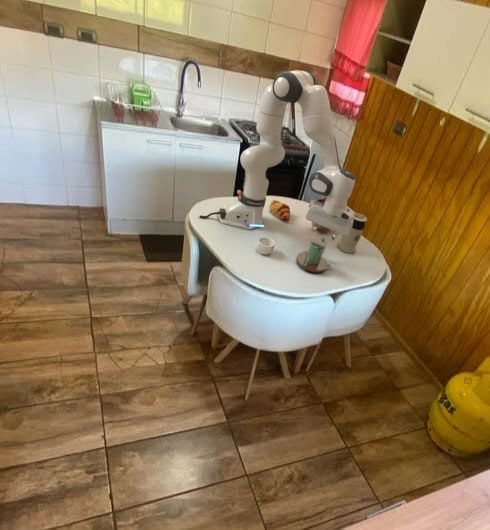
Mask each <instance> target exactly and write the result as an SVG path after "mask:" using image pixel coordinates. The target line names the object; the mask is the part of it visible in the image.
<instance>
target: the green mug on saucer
mask: <svg viewBox="0 0 490 530" xmlns="http://www.w3.org/2000/svg"><path fill="white" fill-rule="evenodd" d="M325 241H326V239H325V237H321V238H320V239H312V240H311V241H310V244H309V247H308V250H306V251H300V252H298V253H297V254H296V258H295V261H296V263H297V264H298V265H299V266H300V267H301V268H302V269H303V268H304V269H303V270H305V269H306V270H305V271H307V270H308V271H307V272H309V271H311V272H310V273H314V272H316V273H323V272H325V271H326V270H327V268H328V266H329V263H328V261H327V259H326V258H325V257H324V256H323V255H324V252H325V250H326V246H327V244H326V243H325Z"/></svg>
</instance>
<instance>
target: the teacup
mask: <svg viewBox="0 0 490 530" xmlns="http://www.w3.org/2000/svg"><path fill="white" fill-rule="evenodd" d="M275 246H276V242H275V241H274V240H273V239H272V238H271V237H268V236H260V237H259V238H258V239H257V241H256V249H257V251H258V252H259V253H260V254H262V255H269V254H271V253H272V252H273V251H274V248H275Z"/></svg>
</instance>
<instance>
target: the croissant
mask: <svg viewBox="0 0 490 530" xmlns="http://www.w3.org/2000/svg"><path fill="white" fill-rule="evenodd" d="M269 208H270V212H271V213H272V214H273V215H274V216H275V217H277V218H278V219H280V220H282V221H284V222H288V221H290V220H291V210H290V209H291V208H290V206H289V204H286V203H284V202H281V201H278V200H277V199H275V200H274V199H273V200H272V201H270V205H269Z"/></svg>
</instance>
